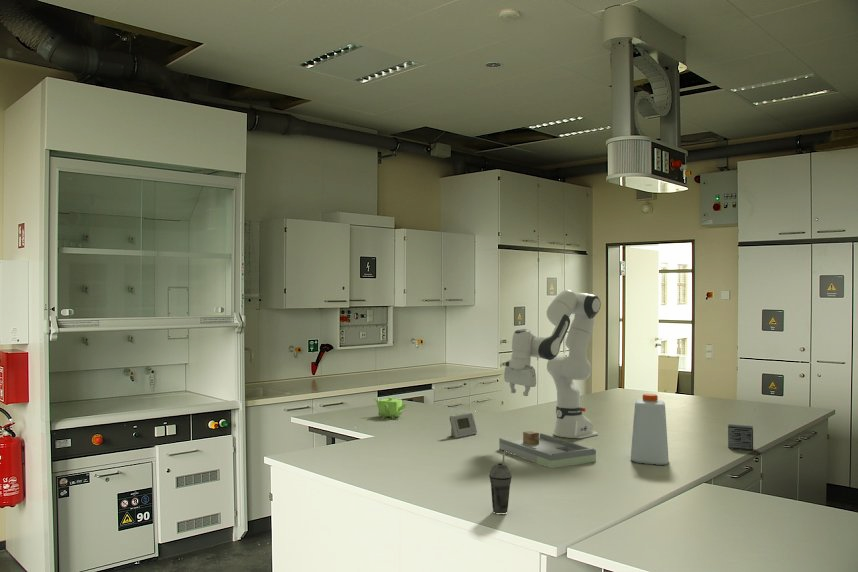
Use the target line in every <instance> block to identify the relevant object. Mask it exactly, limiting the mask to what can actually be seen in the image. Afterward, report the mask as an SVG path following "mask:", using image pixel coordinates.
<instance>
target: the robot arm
mask: <svg viewBox="0 0 858 572" xmlns="http://www.w3.org/2000/svg"><path fill="white" fill-rule="evenodd" d="M601 305H602V304H601V299H600V298H599V296H598V295H596V294H592V293H586V292H575V291H572V290H570V289H563V290H562V291H561V292H559V293H558V295H557V296H555V297H554V298H553V300H552V301H551V302H550V304H549V305H548V307H547V310H546V317H547V319H548V321H549V322H550V323H551V324H552V325H553V326H554V328H553V331H552V333H551V335H550V336H548V337H539V336H536V335H534V334H533V333H532V332H531V330H530V329H525V328H522V329H521V328H520V329H517V330H515V331H514V332H513V335H512V339H511V340H512V341H511V350H512V351H511V352H512V354H511V357H510V358H511V359H510V360H507V361H505V362H504V370H503V371H504V375H503V376H504V377H503V380H504V382H506V383H509V387H510V388H509V389H510V393H511V394H516V392H517V389H516V388H515V385H519V386H524V391H523V392H522V393H523V394H522V395H523V396H524V397H528V396H529V392H530V390H531V388H536V386H537V374H536V369H535V368H534V366H532V365H531V358H538V359H544V360H547V362H546V371H547V372H548V374H549V375H550V376H551V378H552V379H553V382H554V385H555V388H556V389H555V390H556V408H555V414H556V419H555V427H554V430H553V435H554V436H557V437H561V438H570V439H571V438H572V439H573V438H574V439H585V438H589V437H594V436H597V435H598V434H599V433H598V432H597V431H595V430H594V428H593V423H592V421H591V420H590V419H589V418H587V417H586V415H584V414H583V413H585V412H587V408H586V407H581V406H580V405H581V403H580V401H581V400H580V397H581V396H580V395H581V394H580V393H581V392H580V390H579V389H578V387H576V385H575V383H574V381H582V380H587V379H589V377H590V376H591V375H592V372H593V371H592V370H593V368H592V365H591V363H590V361H589V360H588V355H587V353H588V347H589V344H590V339H591V337H592V333H593V328H594V321H595V319H594V318H595V316H596V315H597V314H598V313H599V311H600V309H601ZM572 315H574V318H573V320H572V322H571V316H572ZM566 335H567V336H566ZM565 336H566V338H565ZM564 339H565V342H564V343H565V346H566V347H567V348H568V350H569V351H568V352H569V353H568V356H564V355H559V352H560V349H561V345H562V343H563V341H564Z"/></svg>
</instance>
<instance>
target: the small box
mask: <svg viewBox="0 0 858 572" xmlns="http://www.w3.org/2000/svg"><path fill="white" fill-rule="evenodd" d="M727 427H728V428H727V433H728V434H727V436H728V437H727V439H728V441H727V442H728V445H727V448H733V449H732V450H739V449H742V450H741V451H752V452H753V451H754V426H753V425H743V424H733V423H732V424H727Z"/></svg>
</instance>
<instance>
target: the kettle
mask: <svg viewBox="0 0 858 572" xmlns="http://www.w3.org/2000/svg"><path fill="white" fill-rule="evenodd" d="M373 400H374V401H375V402H376V406H377V408H378V416H380V417H381V419H386V418H387V417H390V418H391V419H393V420H395V419H396V418H399V416H401V415H402V414H403V410H404V409H405V408H406V407H407V406H408V405H407V404H406V403H403V399H402V398H401V399H398V398H397V396H396V397H392V396H388V398H382V399H380V400H379V399H378V398H373Z"/></svg>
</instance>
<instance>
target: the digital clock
mask: <svg viewBox="0 0 858 572" xmlns="http://www.w3.org/2000/svg"><path fill="white" fill-rule="evenodd" d="M449 423H450V427H451V428H450V429H451V430H450V436H451V435H452V437H454V438H455V439H458V438H459V439H460V437H461V438H465V437H464V436H466V437H469V436H468V435H471V436H473V435H476V434H477V433H478V429H477V425H476V422H475V417H474V414H473V412H463V413H457V414H453V415H450V416H449Z"/></svg>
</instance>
